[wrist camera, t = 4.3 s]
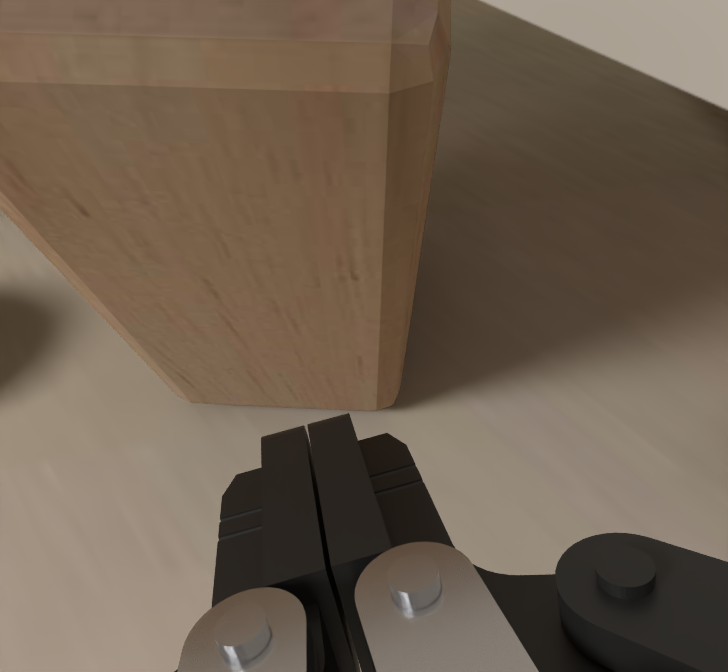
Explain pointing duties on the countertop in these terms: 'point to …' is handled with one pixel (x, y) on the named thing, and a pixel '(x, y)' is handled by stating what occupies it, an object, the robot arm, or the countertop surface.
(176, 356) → the block
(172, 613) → the countertop surface
